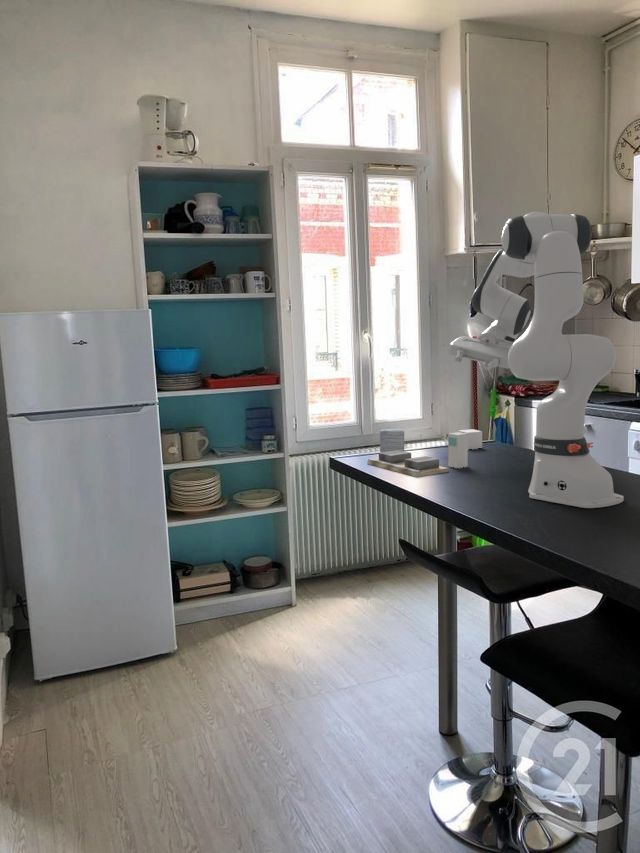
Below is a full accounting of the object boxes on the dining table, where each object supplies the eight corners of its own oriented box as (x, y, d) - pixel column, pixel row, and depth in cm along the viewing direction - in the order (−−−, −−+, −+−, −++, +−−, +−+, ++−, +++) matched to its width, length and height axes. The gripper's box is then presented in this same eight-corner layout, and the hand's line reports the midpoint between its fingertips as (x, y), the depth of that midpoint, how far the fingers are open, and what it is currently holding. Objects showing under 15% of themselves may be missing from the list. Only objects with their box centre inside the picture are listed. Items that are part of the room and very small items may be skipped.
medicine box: (404, 454, 230) (404, 428, 229) (404, 457, 226) (404, 430, 224) (380, 454, 231) (380, 429, 229) (380, 457, 226) (379, 431, 225)
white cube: (457, 447, 242) (457, 430, 241) (472, 446, 244) (472, 429, 243) (467, 450, 236) (467, 432, 235) (482, 448, 238) (482, 431, 237)
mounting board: (448, 471, 201) (448, 459, 201) (416, 476, 195) (416, 464, 195) (398, 459, 222) (398, 448, 221) (367, 463, 216) (367, 452, 215)
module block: (467, 466, 208) (467, 433, 206) (456, 468, 206) (456, 435, 204) (458, 464, 211) (458, 432, 210) (447, 466, 209) (447, 433, 208)
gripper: (460, 327, 219) (440, 346, 210) (523, 341, 208) (504, 362, 199) (460, 345, 222) (439, 364, 213) (521, 360, 212) (503, 381, 203)
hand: (471, 363), depth 206 cm, fingers open, 8 cm apart
